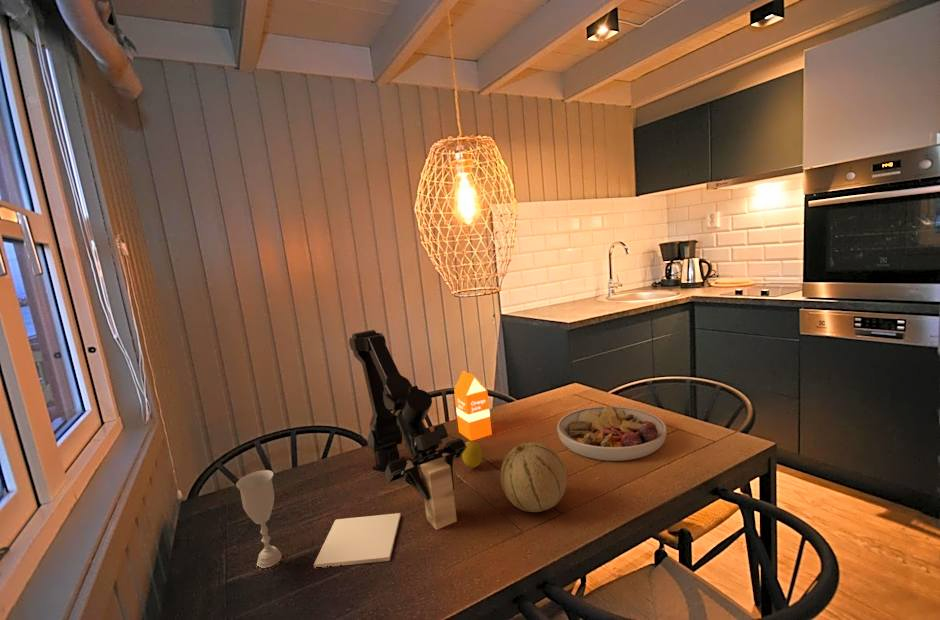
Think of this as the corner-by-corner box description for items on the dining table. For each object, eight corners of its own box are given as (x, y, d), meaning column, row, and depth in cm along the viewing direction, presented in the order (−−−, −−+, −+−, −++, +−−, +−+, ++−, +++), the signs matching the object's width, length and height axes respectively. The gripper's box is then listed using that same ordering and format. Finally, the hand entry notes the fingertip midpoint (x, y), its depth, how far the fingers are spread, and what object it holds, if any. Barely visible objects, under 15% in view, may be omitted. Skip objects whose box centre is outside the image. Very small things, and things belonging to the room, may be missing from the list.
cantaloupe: (583, 510, 99) (578, 446, 97) (526, 535, 93) (520, 466, 91) (543, 482, 112) (538, 425, 110) (491, 502, 106) (485, 441, 104)
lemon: (481, 473, 120) (478, 444, 119) (461, 473, 121) (458, 445, 120) (485, 463, 126) (482, 435, 125) (465, 463, 127) (462, 436, 126)
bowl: (537, 446, 134) (535, 420, 133) (596, 414, 153) (594, 391, 152) (630, 478, 111) (628, 448, 110) (686, 436, 130) (685, 410, 129)
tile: (336, 522, 105) (335, 519, 104) (400, 516, 104) (400, 513, 104) (314, 568, 90) (313, 564, 90) (389, 560, 90) (389, 557, 89)
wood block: (426, 519, 102) (420, 465, 100) (446, 511, 105) (440, 457, 103) (436, 530, 98) (429, 473, 96) (456, 521, 100) (450, 465, 99)
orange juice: (479, 425, 152) (473, 368, 150) (492, 434, 144) (486, 373, 142) (458, 432, 149) (451, 373, 146) (470, 441, 141) (463, 379, 138)
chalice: (259, 551, 97) (245, 472, 94) (291, 546, 97) (278, 468, 95) (245, 576, 90) (229, 491, 87) (280, 570, 90) (265, 486, 88)
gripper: (382, 427, 97) (408, 497, 89) (458, 404, 106) (488, 466, 98) (375, 450, 105) (398, 516, 97) (446, 427, 114) (473, 485, 106)
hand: (441, 495), depth 99 cm, fingers open, 6 cm apart
